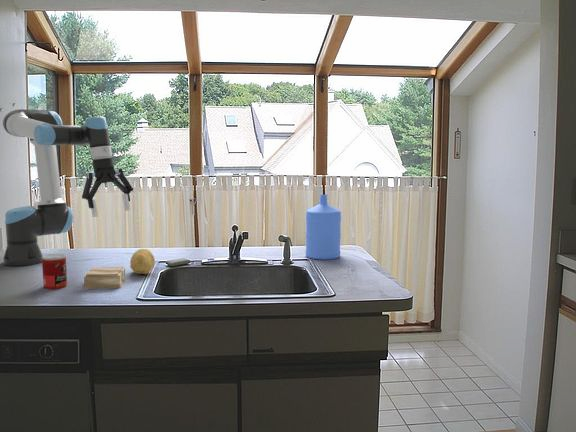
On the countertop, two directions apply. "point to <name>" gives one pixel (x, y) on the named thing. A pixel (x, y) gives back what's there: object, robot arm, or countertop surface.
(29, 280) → the countertop surface
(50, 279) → the canned food
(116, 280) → the plinth
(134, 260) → the potato
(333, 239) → the water jug
